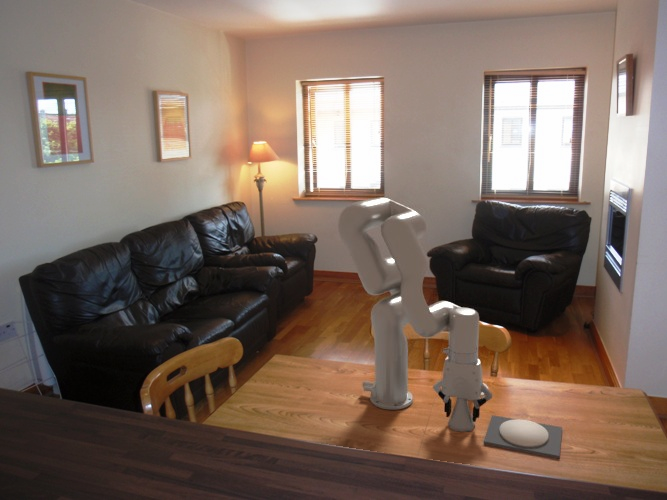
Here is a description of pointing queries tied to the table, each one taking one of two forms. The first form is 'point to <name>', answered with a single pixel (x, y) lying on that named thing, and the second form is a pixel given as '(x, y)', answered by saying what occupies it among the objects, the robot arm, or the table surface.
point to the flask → (461, 417)
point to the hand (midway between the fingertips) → (461, 416)
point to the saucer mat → (524, 436)
